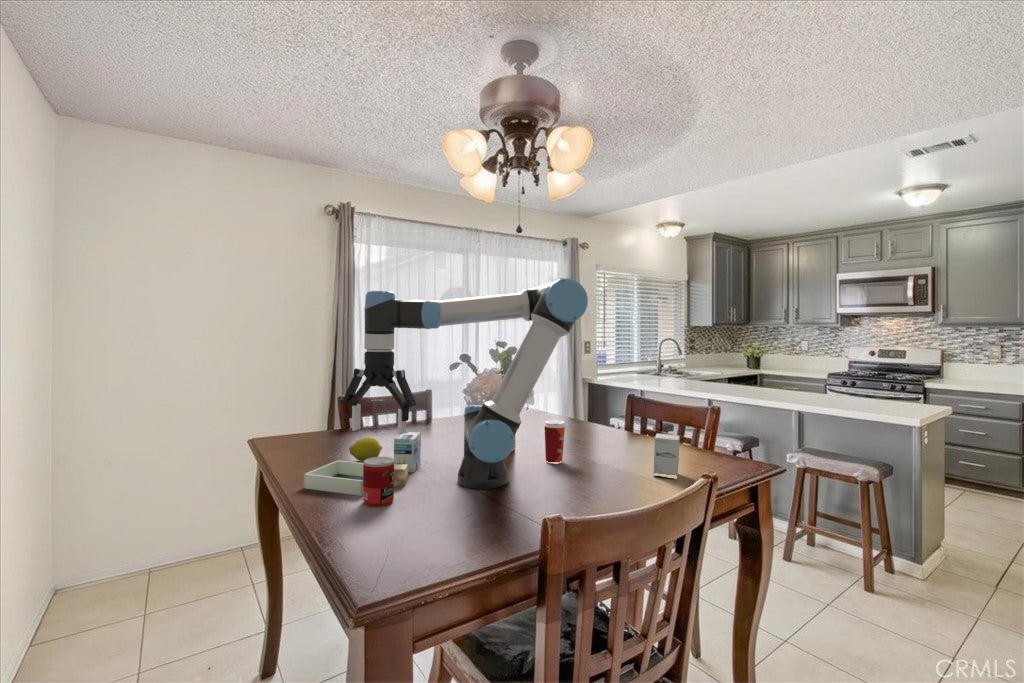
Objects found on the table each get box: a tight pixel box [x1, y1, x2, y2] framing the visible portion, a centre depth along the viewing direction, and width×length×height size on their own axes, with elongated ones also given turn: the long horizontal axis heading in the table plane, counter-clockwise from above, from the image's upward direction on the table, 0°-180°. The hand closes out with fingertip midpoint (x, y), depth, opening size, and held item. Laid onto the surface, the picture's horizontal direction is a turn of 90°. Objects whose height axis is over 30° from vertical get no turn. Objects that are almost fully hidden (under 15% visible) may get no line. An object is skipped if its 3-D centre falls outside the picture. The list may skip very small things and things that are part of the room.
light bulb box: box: [393, 431, 422, 473], centre depth 158 cm, size 11×7×11 cm, turn 179°
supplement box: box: [653, 433, 681, 476], centre depth 154 cm, size 7×7×13 cm
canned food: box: [362, 456, 395, 508], centre depth 127 cm, size 8×8×11 cm
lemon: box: [348, 437, 383, 462], centre depth 165 cm, size 11×8×8 cm
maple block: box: [394, 464, 409, 487], centre depth 142 cm, size 5×5×5 cm
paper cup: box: [543, 419, 566, 462], centre depth 167 cm, size 8×8×14 cm
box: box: [303, 460, 364, 497], centre depth 141 cm, size 19×15×4 cm
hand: (378, 431), depth 126 cm, fingers open, 13 cm apart
